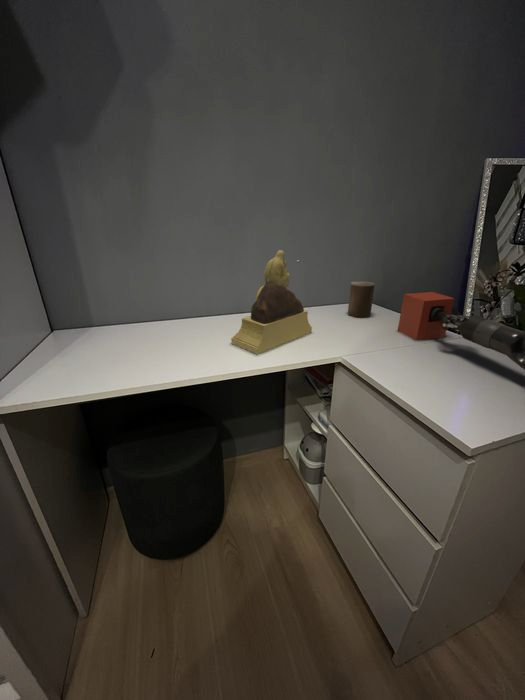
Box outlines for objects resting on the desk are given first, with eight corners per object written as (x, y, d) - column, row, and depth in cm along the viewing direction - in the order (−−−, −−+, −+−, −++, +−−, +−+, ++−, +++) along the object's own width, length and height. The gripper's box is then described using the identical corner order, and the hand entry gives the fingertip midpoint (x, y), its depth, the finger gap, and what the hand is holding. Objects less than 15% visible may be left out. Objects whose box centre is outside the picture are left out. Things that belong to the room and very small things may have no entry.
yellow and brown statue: (286, 324, 120) (287, 246, 108) (311, 332, 112) (316, 248, 100) (231, 343, 103) (226, 252, 90) (257, 354, 94) (255, 255, 82)
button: (442, 320, 102) (445, 308, 100) (431, 321, 101) (434, 309, 99) (438, 319, 103) (441, 306, 101) (427, 320, 102) (430, 307, 100)
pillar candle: (367, 319, 125) (372, 283, 119) (344, 315, 130) (348, 281, 124) (372, 313, 133) (377, 279, 127) (351, 310, 138) (354, 277, 131)
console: (444, 336, 106) (454, 298, 101) (415, 340, 104) (424, 300, 98) (424, 327, 115) (432, 291, 109) (397, 330, 112) (404, 294, 107)
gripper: (462, 347, 85) (419, 327, 100) (499, 342, 88) (452, 323, 103) (469, 322, 82) (424, 305, 97) (507, 318, 85) (457, 302, 100)
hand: (438, 315), depth 100 cm, fingers closed
